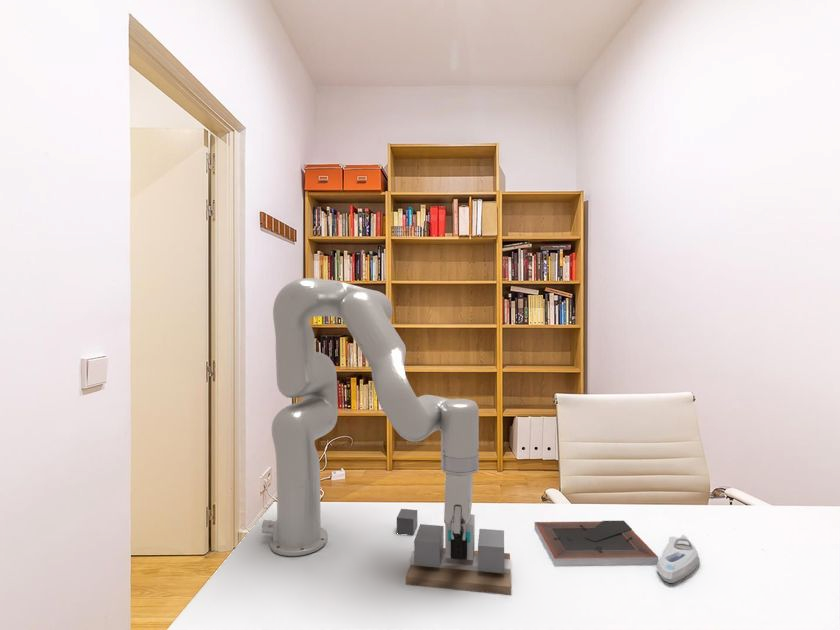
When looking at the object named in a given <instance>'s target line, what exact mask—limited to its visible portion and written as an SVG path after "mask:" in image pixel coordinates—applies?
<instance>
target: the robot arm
mask: <svg viewBox="0 0 840 630" xmlns="http://www.w3.org/2000/svg"><path fill="white" fill-rule="evenodd" d="M272 315H273V316H272V317H273V319H272V320H273V325H274V334H275V335H274V336H275V368H276V370H275V371H276V373H275V374H276V385H277V388H278V390H279V392H280V394H282V396H284V397H285V398H289V399H299V398H301V401H297V402H295V403H292V404H290V405H287V406H285V407H283V408H282V409H281V410H280V411H278V412H277V413H276V415H275V416H274V418H273V420H272V423H271V436H272V441H273V446H274V453H275V465H276V466H275V467H276V520H270V519H264V520H263V521H262V523H261V532H262V534H267V535H268V534H271V535H272V537H271V539H270V540H269V543H270V544H269V545H270V550H272V552H274V553H275V554H277V555H281V556H285V557H287V556H288V557H298V556H304V555H305V556H306V555H308V554H309V555H310V554H312V553H314V552H316V551H318V550H321V549H322V548H323V547H324V546H325V545H326V544H327V542H328V536H329V535H328V532H327V531H326V529H324V528H323V527H321V463H320V456H319V454H318V451H317V447H316V445H315V441H317V440H318V439H320V438H323V437H324V436H326V435H327V434H329V433H330V432H331V431H333V430H334V428H335V426H336V424H337V422H338V415H339V414H338V413H339V405H338V404H339V403H338V400H339V399H338V379H337V378H338V377H337V370H336V366H335V364H334V361H332V359H331V358H330V357H329V356H328V355H326V354H325V353H322V352H319V351H316V347H315V343H316V342H315V333H314V331H313V327H312V325H311V323H310V320H311V318H313V317H314V318H315V317H335V318H340V319H342V322H343V323H344V324H345V326H346V328H347V330H348V331H349V333H350V335H351V337H352V338H353V340H354V341H355V343H356V344H357V346H358V348H359V350H360V351H361V353H362V355H363V357H364V358H365V359H366V362H367V363H368V364H369V367H370V371H371V378H372V383H373V387H374V391H375V395H376V398H377V401H378V403H379V405H380V407H381V409H382V411H383V412H384V414H385V416H386V418H387V419H388V421H389V423H390V424H391V426H392V427H393V429H394V430H395V431H396V433H397V434H398V435H399V436H400V437H401V438H403V440H406V441H409V442H413V443H414V442H415V443H417V442H421V441H423V440H425V439H427V438H428V437H429V436H430V435H431V434H432V433H434V432H436V431H440V454H441V455H440V468H441V469H440V470H441V471H442V472H444V473H445V480H444V509H443V510H444V512H443V522H444V525H445V524H446V525H447V524H450V522H451V520H452V524H451V525H452V530H451V558H452V559H461V560H466V559H467V538H466V526H467V525H468V524H469V520H470V514H471V513H472V504H473V491H474V490H473V488H474V487H473V486H474V485H473V484H474V483H473V482H474V479H473V478H474V474H476V473H478V472H479V470H480V469H479V468H480V463H479V461H480V458H479V457H480V456H479V455H480V453H479V448H480V447H479V445H480V443H479V441H480V438H479V437H480V435H479V433H480V432H479V429H480V428H479V425H480V424H479V422H480V421H479V420H480V417H479V415H480V414H479V406H478V404H477V402H476V401H474V400H471V399H468V398H448V397H447V398H446V397H442V396H440V395H439V396H438V395H433V394H423V395H420V396H418V397H417V395H416V393H415V392H414V390H413V388H412V387H411V385H410V381H409V380H408V377H407V374H406V367H405V363H406V362H405V361H406V353H407V349H406V348H407V347H406V344H405V343H404V341H403V340H402V338H401V336H400V335H399V333H398V332H397V330H396V328H395V327H394V325H393V324H392V322H391V321H390V320H391V318H392V315H393V305H392V303H391V301H390V299H389V297H388V296H387V295H386V294H385V293H383V292H381V291H379V290H373V289H370V288H365V287H362V286H358V285H355V284H352V283H351V284H350V283H348V282H345V281H339V280H334V279H326V278H325V279H324V278H323V279H322V278H318V277H317V278H315V277H307V278H306V277H305V278H299V279H295V280H293V281H291V282H289V283H287V284H286V285H284V286H283V287H282V288H281V289H280V290H279V292H278V293H277V295H276V297H275V299H274V301H273V308H272ZM461 520H464V523H462V522H461ZM461 527H463V531H462V530H461Z"/></svg>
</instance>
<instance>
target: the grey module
mask: <svg viewBox="0 0 840 630" xmlns="http://www.w3.org/2000/svg"><path fill="white" fill-rule="evenodd" d="M461 522H462V523H464V520H461ZM475 522H476V521H475V514H470V520H469V524H468V525H467V526H466V538H467V560H473V558H474V551H475V546H476V545H475V540H476V539H475V536H476V535H475V533H476V532H475V531H476V530H475V529H476V527H475V524H476V523H475ZM451 524H452V520H451V522H450V524H447V525H446V524H445V523H444V525H445V526H444V528H445V529H444V535H445V538H444V540H445V542H444V546H445V547H444V548H445V558H451V530H452V525H451ZM461 530H462V531H463V527H461Z"/></svg>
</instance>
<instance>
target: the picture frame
mask: <svg viewBox="0 0 840 630" xmlns="http://www.w3.org/2000/svg"><path fill="white" fill-rule="evenodd" d="M534 530H535V532H536V534H537V537H538V539H539V540H540V542H541V543H542V545H543V548H544V549H545V552H546V553H547V555H548V556H549V559H550V560H551V562H552V564H553V566H554V567H596V566H598V567H599V566H600V567H604V566H605V567H606V566H607V567H610V566H613V567H614V566H622V567H623V566H656V565H657V562H658V560H659V559H660V557H659V556H658V555H657V554H656V553H655V552H654V551H653V549H651V548H650V547H649V545H647V543H646V542H645V541H643V539H642V538H641V537H640V536H639V535H638V534H637V533H636V532H635V530H633V529H632V527H631V526H630V525H629V523H627V522H626V521H625V520H602V521H534Z"/></svg>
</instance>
